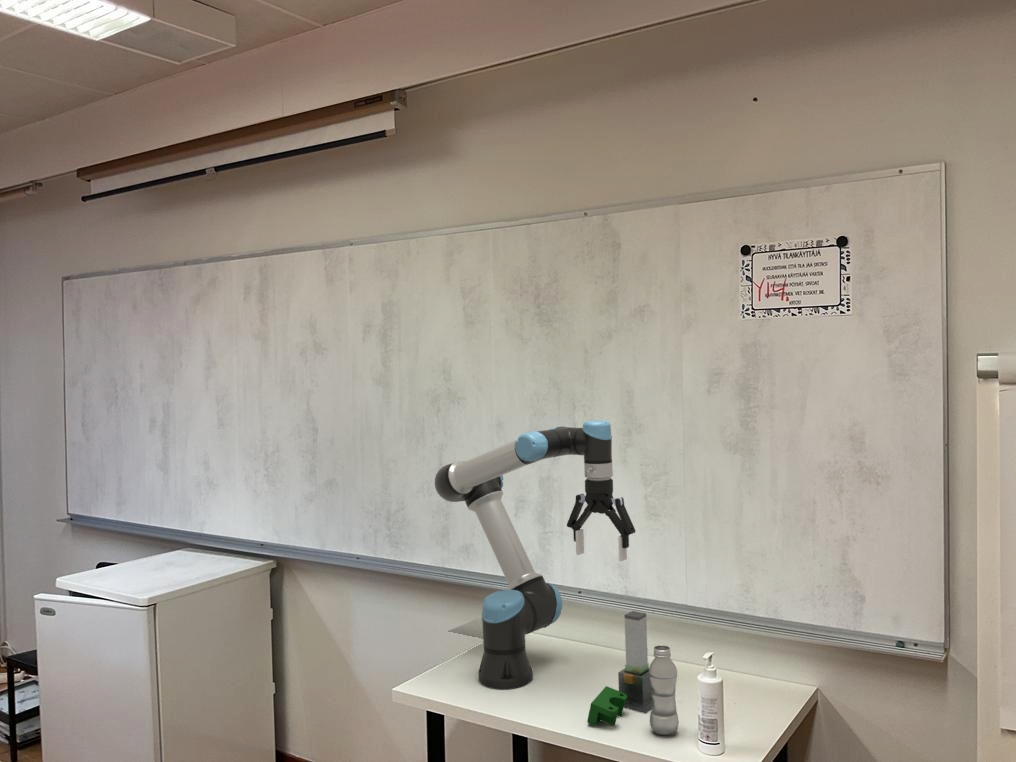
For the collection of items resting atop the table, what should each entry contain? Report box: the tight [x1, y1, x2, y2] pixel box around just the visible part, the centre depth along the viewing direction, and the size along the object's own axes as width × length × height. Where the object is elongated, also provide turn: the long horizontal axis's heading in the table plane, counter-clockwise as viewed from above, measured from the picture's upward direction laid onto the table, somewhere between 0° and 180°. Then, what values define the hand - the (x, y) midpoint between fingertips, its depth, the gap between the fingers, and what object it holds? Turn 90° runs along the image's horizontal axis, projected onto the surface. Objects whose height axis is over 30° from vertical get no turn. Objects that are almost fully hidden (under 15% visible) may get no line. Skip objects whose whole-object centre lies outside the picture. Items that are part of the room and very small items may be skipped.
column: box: [624, 610, 650, 676], centre depth 211 cm, size 4×4×15 cm
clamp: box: [586, 685, 627, 727], centre depth 202 cm, size 12×6×9 cm, turn 149°
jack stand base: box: [617, 668, 652, 714], centre depth 211 cm, size 10×10×8 cm
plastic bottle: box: [649, 644, 680, 736], centre depth 193 cm, size 6×7×20 cm
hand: (601, 557), depth 222 cm, fingers open, 13 cm apart
